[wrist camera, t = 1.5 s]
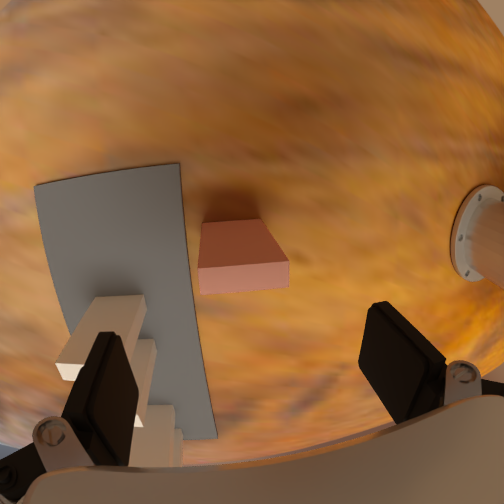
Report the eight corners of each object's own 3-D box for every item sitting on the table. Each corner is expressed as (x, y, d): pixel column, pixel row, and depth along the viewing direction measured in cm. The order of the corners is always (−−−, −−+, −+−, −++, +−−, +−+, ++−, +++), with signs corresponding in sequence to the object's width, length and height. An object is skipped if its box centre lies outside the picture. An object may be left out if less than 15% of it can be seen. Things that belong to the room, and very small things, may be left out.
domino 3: (172, 404, 31) (168, 474, 22) (175, 412, 32) (172, 481, 23) (133, 404, 31) (120, 471, 21) (136, 412, 31) (126, 478, 22)
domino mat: (179, 163, 23) (178, 163, 23) (217, 435, 35) (217, 438, 35) (36, 185, 22) (33, 186, 21) (120, 435, 34) (119, 438, 33)
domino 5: (260, 218, 26) (289, 261, 17) (261, 236, 26) (289, 287, 17) (202, 222, 25) (197, 268, 16) (203, 240, 26) (200, 295, 17)
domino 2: (154, 338, 28) (137, 414, 19) (157, 351, 28) (143, 427, 19) (108, 339, 27) (80, 410, 18) (112, 352, 28) (87, 423, 19)
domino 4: (180, 428, 33) (179, 493, 24) (183, 435, 34) (182, 498, 24) (144, 428, 33) (136, 490, 23) (147, 435, 33) (140, 496, 24)
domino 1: (143, 294, 26) (117, 365, 17) (147, 309, 27) (124, 383, 17) (95, 297, 26) (55, 363, 16) (99, 311, 26) (63, 379, 17)
